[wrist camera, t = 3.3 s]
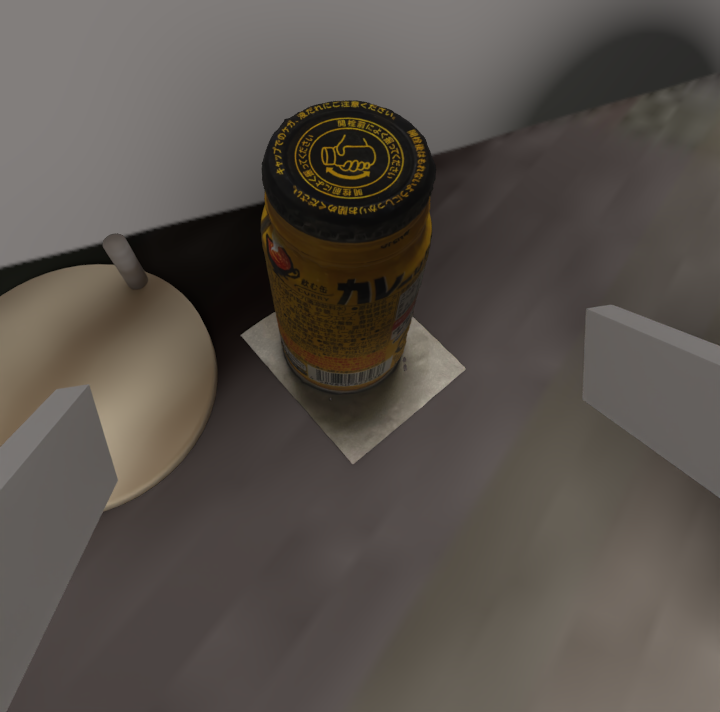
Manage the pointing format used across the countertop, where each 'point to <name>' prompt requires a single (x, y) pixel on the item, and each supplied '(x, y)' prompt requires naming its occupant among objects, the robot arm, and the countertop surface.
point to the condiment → (349, 270)
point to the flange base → (111, 361)
